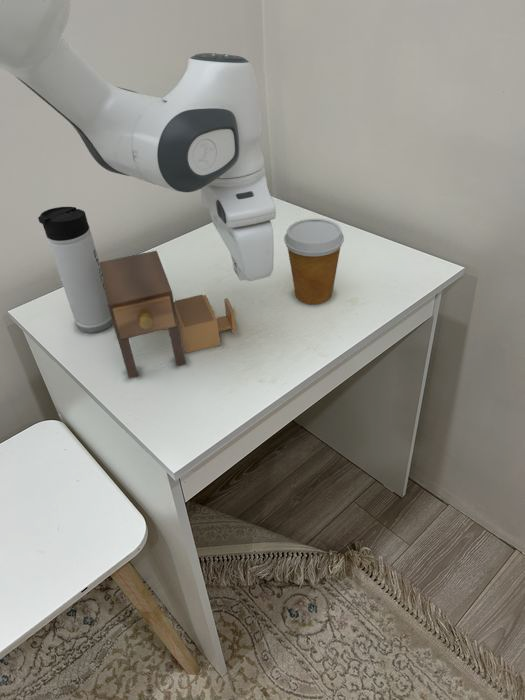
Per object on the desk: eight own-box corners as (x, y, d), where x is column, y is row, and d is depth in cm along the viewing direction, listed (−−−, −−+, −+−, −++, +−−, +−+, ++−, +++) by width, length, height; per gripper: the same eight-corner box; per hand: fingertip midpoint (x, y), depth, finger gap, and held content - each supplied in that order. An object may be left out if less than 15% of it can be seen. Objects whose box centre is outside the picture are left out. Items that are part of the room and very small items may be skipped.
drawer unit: (130, 386, 78) (109, 312, 70) (119, 332, 88) (99, 261, 80) (188, 371, 80) (174, 297, 71) (170, 320, 90) (156, 250, 82)
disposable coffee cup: (351, 288, 94) (354, 224, 87) (324, 316, 88) (325, 250, 81) (304, 274, 99) (303, 212, 91) (275, 300, 93) (272, 236, 85)
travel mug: (67, 325, 90) (28, 213, 78) (100, 307, 94) (67, 197, 81) (90, 339, 87) (52, 224, 74) (123, 319, 91) (92, 207, 78)
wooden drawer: (185, 353, 83) (180, 327, 80) (176, 327, 88) (171, 301, 85) (239, 340, 85) (237, 313, 81) (227, 315, 90) (224, 289, 87)
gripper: (193, 165, 80) (205, 248, 89) (230, 222, 65) (241, 316, 74) (234, 157, 82) (242, 240, 90) (280, 212, 66) (284, 305, 75)
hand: (242, 275), depth 82 cm, fingers closed
